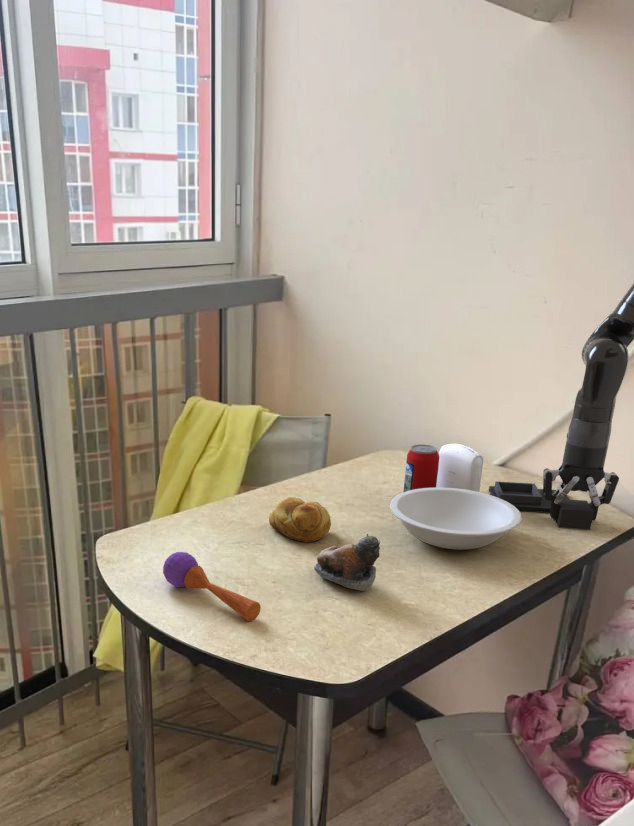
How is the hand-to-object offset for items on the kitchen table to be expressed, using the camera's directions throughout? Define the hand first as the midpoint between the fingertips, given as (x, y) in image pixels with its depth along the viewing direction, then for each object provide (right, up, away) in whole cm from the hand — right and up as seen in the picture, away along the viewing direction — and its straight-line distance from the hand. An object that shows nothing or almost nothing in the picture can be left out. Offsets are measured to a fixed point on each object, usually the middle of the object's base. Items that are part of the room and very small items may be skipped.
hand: (571, 520), depth 157 cm
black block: (0, -1, 0) cm, 1 cm away
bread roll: (-56, -3, -5) cm, 56 cm away
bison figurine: (-49, -12, -24) cm, 56 cm away
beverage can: (-28, +4, +11) cm, 31 cm away
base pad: (-4, +4, +11) cm, 13 cm away
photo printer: (-20, +5, +12) cm, 24 cm away
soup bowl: (-27, -4, -8) cm, 28 cm away
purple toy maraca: (-73, -14, -30) cm, 80 cm away
